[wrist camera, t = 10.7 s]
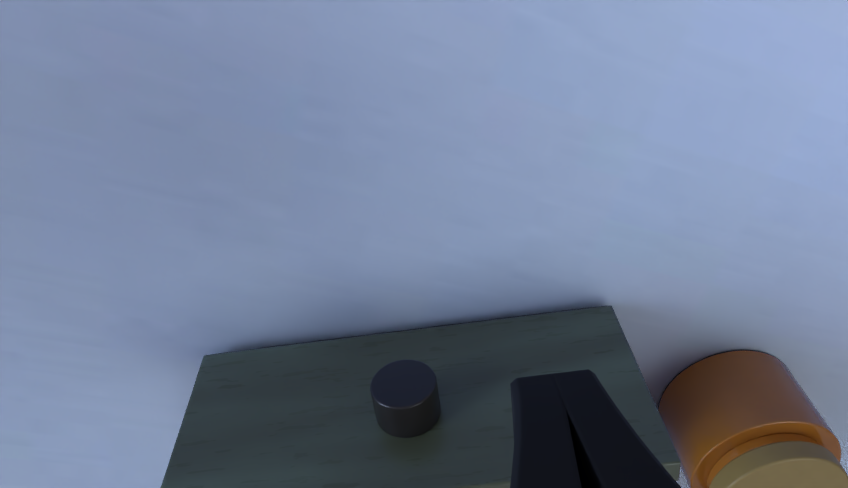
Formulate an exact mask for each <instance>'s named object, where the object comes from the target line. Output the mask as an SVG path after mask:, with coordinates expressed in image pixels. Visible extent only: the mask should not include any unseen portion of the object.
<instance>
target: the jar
mask: <svg viewBox="0 0 848 488" xmlns="http://www.w3.org/2000/svg"><path fill="white" fill-rule="evenodd" d="M659 414H660V416H661V418H662V421H663V423H664V425H665V427H666V430H667V432H668V434H669V436H670V439H671V441H672V443H673V445H674V448H675V450H676V452H677V454H678V457H679V459H680V461H681V465H680V467H681V469H682V471H683V474H684V476H685V478H686V480H687V483H688V485H689V487H690V488H848V476H847V474H846V472H845V470H844V469H843V467H842V466H841V464H840V459H841V448H840V443H839V441H838V439H837V438H836V436H835V435H834V433H833V432H832V430H831V429H830V428H829V426H828V425H827V423H826V422H825V421H824V419H823V418H822V416H821V415H820V413H819V412H818V411H817V409H816V408H815V406H814V405H813V403H812V402H811V401H810V399H809V398H808V396H807V395H806V393H805V392H804V391H803V389H802V388H801V386H800V385H799V384H798V382H797V381H796V379H795V378H794V376H793V375H792V374H791V372H790V371H789V369H788V368H787V367H786V365H785V364H784V363H782V362H781V361H780V360H779V359H777V358H775V357H774V356H771V355H769V354H766V353H762V352H758V351H747V350H741V351H731V352H725V353H721V354H717V355H713V356H711V357H708V358H705V359H703V360H701V361H699V362H697V363H695V364H693V365H691V366H690V367H688V368H687V369H685V370H684V371H682V372H681V373H680V374H679V375H678V376H676V377H675V378H674V380H673V381H672V382H671V383H670V384H669V385H668V387H667V388H666V389H665V391H664V393H663V395H662V397H661V400H660V404H659Z"/></svg>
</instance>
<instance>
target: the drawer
mask: <svg viewBox="0 0 848 488" xmlns="http://www.w3.org/2000/svg"><path fill="white" fill-rule="evenodd" d="M587 369H589V370H590V371H592V372H593V373H595V374H596V376H597V378H598V379H599V381H600V383H601V384H602V386H603V387H604V389H605V390H606V392H607V393H608V395H609V396H610V398H611V399H612V400H613V402H614V403H615V405H616V406H617V408H618V409H619V410H620V412H621V413H622V415H623V416H624V417H625V419H626V420H627V421H628V423H629V424H630V425H631V427H632V428H633V429H634V431H635V432H636V433H637V435H638V436H639V437H640V438H641V440H642V441H643V442H644V443H645V445H646V446H647V447H648V449H649V450H650V451H651V452H652V453H653V455H654V456H655V457H656V458H657V459H658V461H659V462H660V463H661V464H662V465H663V467H664V468H665V469H666V470H667V471H668V473H669V474H670V475H671V476H672V477H673V479H674V480H675V481H677V480H678V479H679V472H680V465H681V461H680V459H679V457H678V454H677V452H676V450H675V448H674V445H673V443H672V441H671V439H670V436H669V434H668V432H667V430H666V427H665V425H664V423H663V421H662V418H661V416H660V414H659V412H658V409H657V407H656V405H655V403H654V400H653V398H652V396H651V394H650V391H649V389H648V387H647V385H646V382H645V380H644V378H643V376H642V373H641V371H640V369H639V366H638V364H637V362H636V360H635V357H634V355H633V353H632V351H631V348H630V346H629V344H628V342H627V339H626V337H625V335H624V333H623V330H622V328H621V326H620V324H619V321H618V319H617V317H616V315H615V312H614V310H613V308H612V306H601V307H593V308H585V309H577V310H569V311H561V312H553V313H545V314H536V315H528V316H520V317H512V318H504V319H496V320H488V321H480V322H471V323H463V324H455V325H447V326H439V327H431V328H423V329H414V330H406V331H398V332H390V333H382V334H374V335H366V336H358V337H349V338H341V339H333V340H325V341H317V342H309V343H301V344H292V345H284V346H276V347H268V348H260V349H252V350H244V351H236V352H227V353H219V354H211V355H205V356H204V357H203V360H202V363H201V366H200V369H199V372H198V375H197V378H196V381H195V384H194V387H193V391H192V394H191V397H190V400H189V403H188V406H187V409H186V412H185V415H184V418H183V421H182V424H181V427H180V430H179V433H178V437H177V440H176V443H175V446H174V449H173V452H172V455H171V458H170V461H169V464H168V467H167V470H166V473H165V476H164V479H163V483H162V486H161V488H510V483H511V473H512V462H513V452H514V432H513V417H512V402H511V388H510V383H511V382H513V381H514V380H515V379H516V378H520V377H528V376H536V375H545V374H553V373H562V372H570V371H579V370H587Z"/></svg>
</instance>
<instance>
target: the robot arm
mask: <svg viewBox="0 0 848 488" xmlns="http://www.w3.org/2000/svg"><path fill="white" fill-rule="evenodd" d="M510 388H511V402H512V417H513V432H514V452H513V462H512V473H511V483H510V488H681V487H680V486H679V484H678V483H677V482H676V481H675V480H674V479H673V477H672V476H671V475H670V474H669V473H668V471H667V470H666V469H665V468H664V467H663V465H662V464H661V463H660V462H659V461H658V459H657V458H656V457H655V456H654V455H653V453H652V452H651V451H650V450H649V449H648V447H647V446H646V445H645V443H644V442H643V441H642V440H641V438H640V437H639V436H638V435H637V433H636V432H635V431H634V429H633V428H632V427H631V425H630V424H629V423H628V421H627V420H626V419H625V417H624V416H623V415H622V413H621V412H620V410H619V409H618V408H617V406H616V405H615V403H614V402H613V400H612V399H611V398H610V396H609V395H608V393H607V392H606V390H605V389H604V387H603V386H602V384H601V383H600V381H599V379H598V378H597V376H596V374H595V373H593V372H592V371H590V370H589V369H587V370H579V371H570V372H562V373H553V374H545V375H536V376H528V377H520V378H516V379H515V380H514V381H513V382H511V383H510Z"/></svg>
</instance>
